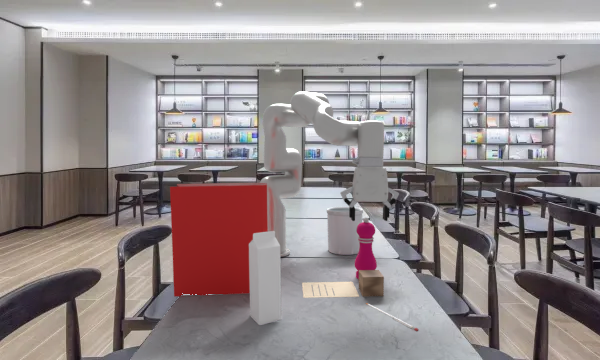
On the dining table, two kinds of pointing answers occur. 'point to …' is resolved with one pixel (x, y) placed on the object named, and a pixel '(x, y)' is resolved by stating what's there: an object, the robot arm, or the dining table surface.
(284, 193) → the robot arm
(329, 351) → the dining table surface
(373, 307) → the pencil
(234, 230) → the book
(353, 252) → the utensil holder
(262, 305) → the milk
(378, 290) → the block
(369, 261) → the pepper mill
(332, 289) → the letter
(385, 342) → the dining table surface
